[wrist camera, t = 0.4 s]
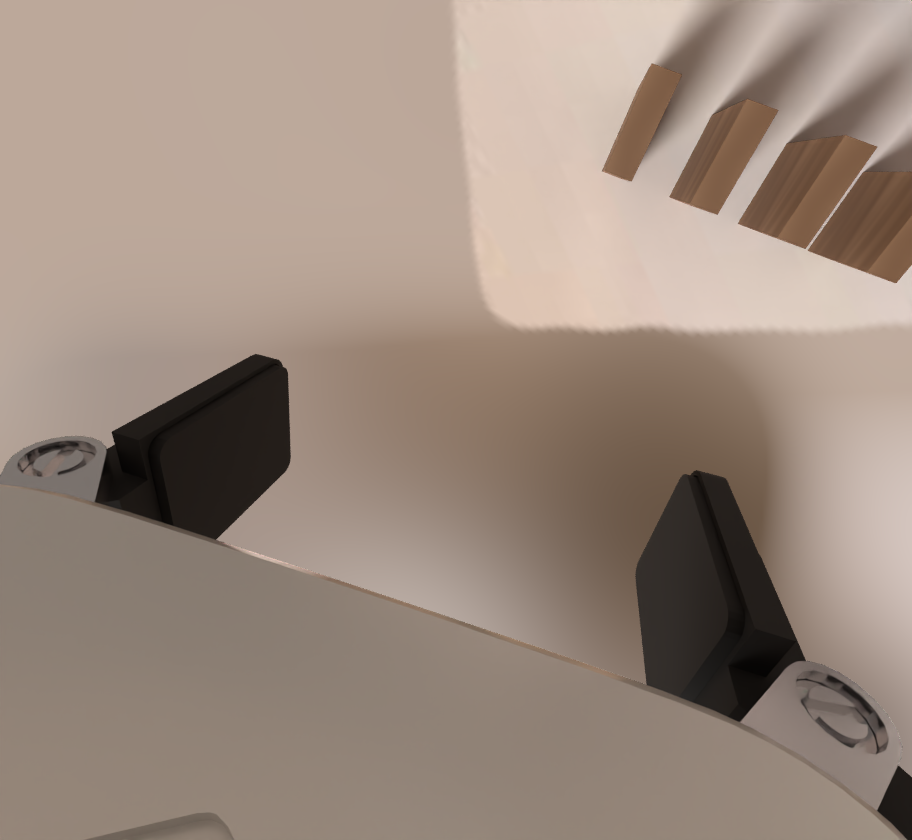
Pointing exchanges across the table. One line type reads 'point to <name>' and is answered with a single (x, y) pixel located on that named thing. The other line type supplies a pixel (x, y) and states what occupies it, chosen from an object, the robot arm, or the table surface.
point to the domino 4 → (872, 226)
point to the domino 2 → (722, 155)
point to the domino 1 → (641, 122)
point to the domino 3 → (805, 187)
